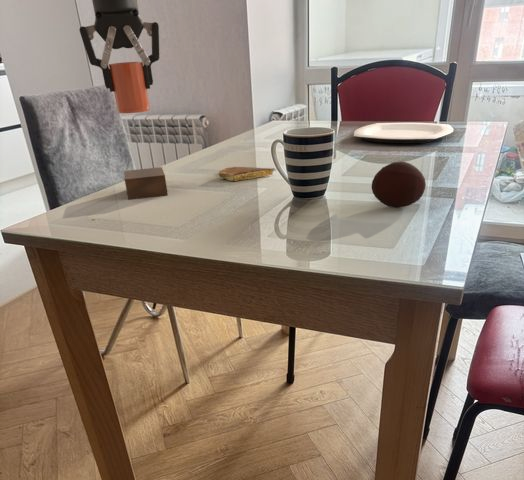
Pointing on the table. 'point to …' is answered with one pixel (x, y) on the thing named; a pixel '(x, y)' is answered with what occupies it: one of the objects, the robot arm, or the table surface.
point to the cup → (129, 87)
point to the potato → (398, 184)
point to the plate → (403, 132)
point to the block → (145, 183)
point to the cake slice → (244, 173)
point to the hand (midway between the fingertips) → (130, 89)
